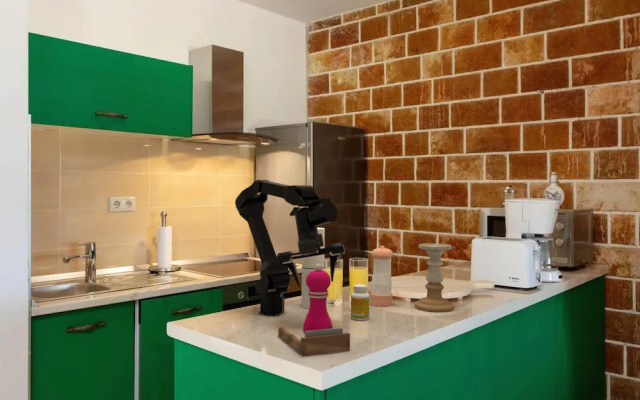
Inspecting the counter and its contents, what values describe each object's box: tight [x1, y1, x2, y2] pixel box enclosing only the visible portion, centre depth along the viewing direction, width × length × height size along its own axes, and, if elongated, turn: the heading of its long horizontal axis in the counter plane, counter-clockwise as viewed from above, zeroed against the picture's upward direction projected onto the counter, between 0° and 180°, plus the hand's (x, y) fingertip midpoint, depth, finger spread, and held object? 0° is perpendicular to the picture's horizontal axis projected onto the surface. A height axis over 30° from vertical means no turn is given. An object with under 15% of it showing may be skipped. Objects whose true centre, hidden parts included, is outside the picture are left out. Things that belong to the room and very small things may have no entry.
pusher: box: [304, 327, 344, 337], centre depth 128 cm, size 1×9×5 cm, turn 113°
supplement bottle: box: [350, 283, 370, 321], centre depth 160 cm, size 5×5×10 cm
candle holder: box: [414, 242, 455, 313], centre depth 174 cm, size 12×12×20 cm
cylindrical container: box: [301, 227, 326, 310], centre depth 175 cm, size 7×7×25 cm
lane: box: [277, 325, 351, 357], centre depth 134 cm, size 18×12×4 cm
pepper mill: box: [302, 264, 334, 335], centre depth 131 cm, size 7×7×20 cm
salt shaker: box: [369, 245, 394, 307], centre depth 179 cm, size 7×7×19 cm
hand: (315, 284), depth 151 cm, fingers open, 9 cm apart
